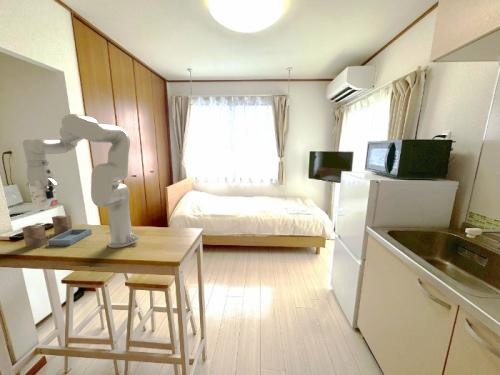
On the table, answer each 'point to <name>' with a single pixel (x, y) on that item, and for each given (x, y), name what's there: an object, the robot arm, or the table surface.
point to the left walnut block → (34, 236)
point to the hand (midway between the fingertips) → (44, 198)
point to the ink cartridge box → (41, 196)
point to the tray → (69, 237)
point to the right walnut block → (61, 224)
